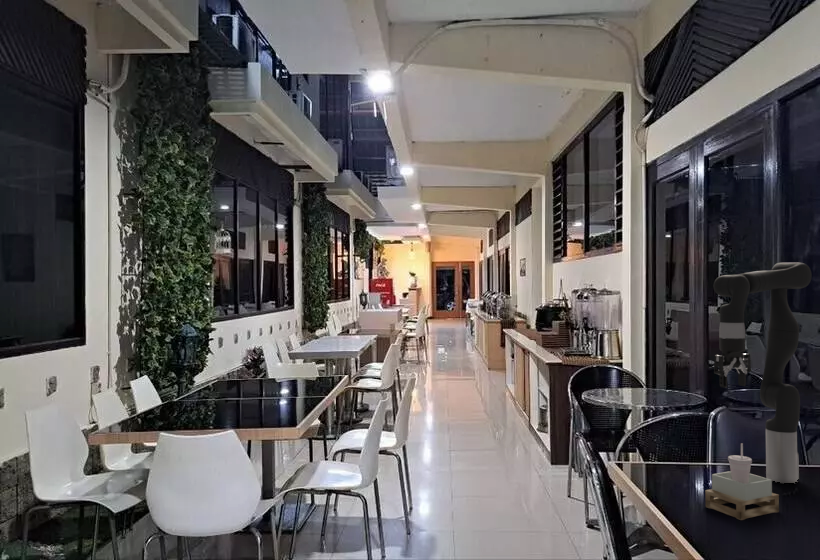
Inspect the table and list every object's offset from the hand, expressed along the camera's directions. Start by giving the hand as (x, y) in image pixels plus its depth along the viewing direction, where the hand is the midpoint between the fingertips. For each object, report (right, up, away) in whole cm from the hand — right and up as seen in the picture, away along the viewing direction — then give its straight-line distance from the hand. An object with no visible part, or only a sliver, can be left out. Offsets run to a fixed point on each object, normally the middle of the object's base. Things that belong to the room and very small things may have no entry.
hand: (732, 386), depth 202 cm
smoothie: (-6, -28, -17) cm, 33 cm away
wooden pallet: (-6, -34, -17) cm, 38 cm away
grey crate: (-6, -29, -16) cm, 34 cm away
